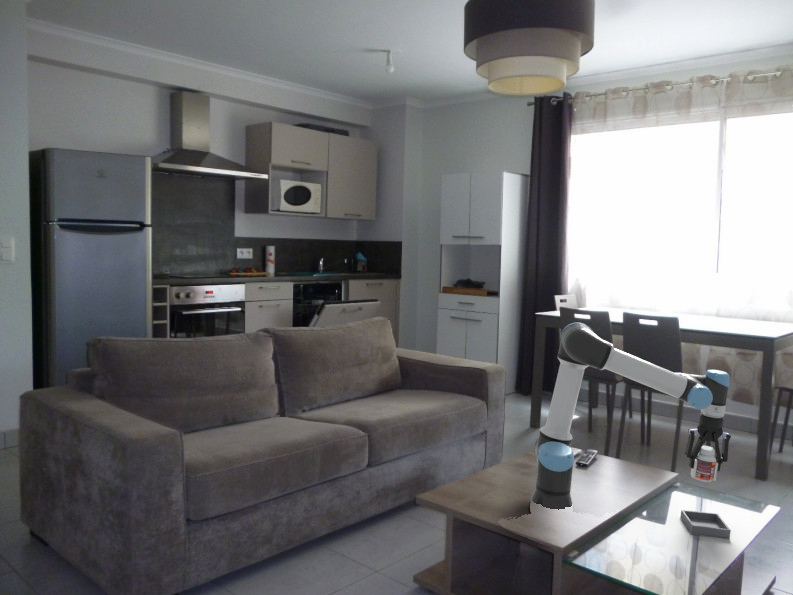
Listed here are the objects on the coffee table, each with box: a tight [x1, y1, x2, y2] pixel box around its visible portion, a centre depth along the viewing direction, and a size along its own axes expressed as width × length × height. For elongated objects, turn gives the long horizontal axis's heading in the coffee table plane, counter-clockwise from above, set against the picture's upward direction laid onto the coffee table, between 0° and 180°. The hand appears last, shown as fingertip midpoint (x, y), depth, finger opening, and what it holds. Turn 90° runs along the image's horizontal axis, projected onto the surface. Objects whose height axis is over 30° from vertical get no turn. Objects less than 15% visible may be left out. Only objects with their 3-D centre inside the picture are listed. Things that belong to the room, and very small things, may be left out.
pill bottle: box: [694, 445, 716, 483], centre depth 229 cm, size 6×6×11 cm
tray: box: [679, 509, 732, 540], centre depth 221 cm, size 12×12×3 cm
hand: (702, 478), depth 230 cm, fingers closed on pill bottle, 6 cm apart
